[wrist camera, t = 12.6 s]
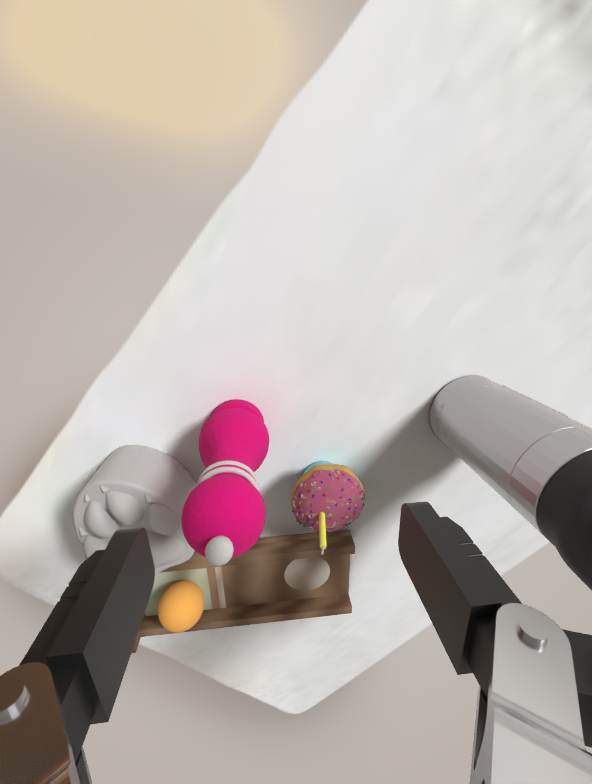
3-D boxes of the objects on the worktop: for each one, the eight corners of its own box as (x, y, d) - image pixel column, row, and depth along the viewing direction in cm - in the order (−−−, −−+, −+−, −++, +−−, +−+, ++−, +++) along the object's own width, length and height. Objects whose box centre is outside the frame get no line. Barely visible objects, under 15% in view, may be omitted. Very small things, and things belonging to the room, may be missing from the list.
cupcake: (298, 511, 45) (311, 592, 34) (278, 458, 42) (286, 527, 31) (360, 491, 45) (394, 566, 34) (345, 437, 42) (377, 498, 31)
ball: (205, 568, 45) (197, 608, 40) (209, 599, 47) (202, 641, 42) (161, 572, 45) (148, 613, 39) (168, 602, 47) (155, 645, 41)
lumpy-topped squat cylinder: (145, 542, 44) (120, 604, 36) (79, 467, 40) (33, 518, 31) (215, 508, 43) (206, 563, 35) (156, 428, 39) (129, 469, 31)
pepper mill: (255, 458, 41) (252, 613, 23) (197, 440, 40) (143, 591, 21) (277, 406, 39) (294, 530, 21) (216, 386, 38) (176, 499, 19)
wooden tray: (349, 529, 47) (359, 558, 42) (346, 593, 51) (355, 626, 46) (122, 550, 44) (106, 583, 39) (138, 616, 48) (125, 653, 43)
